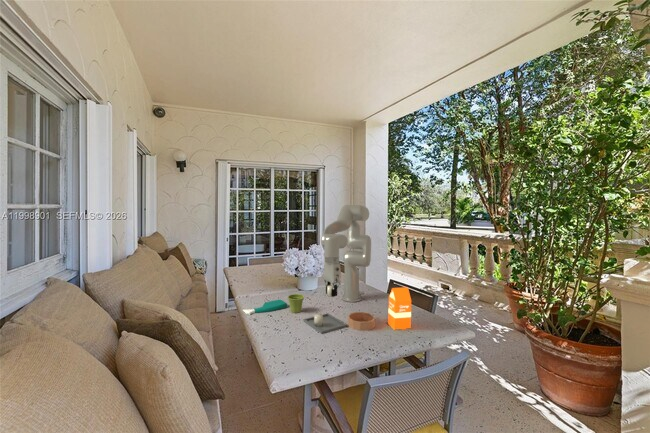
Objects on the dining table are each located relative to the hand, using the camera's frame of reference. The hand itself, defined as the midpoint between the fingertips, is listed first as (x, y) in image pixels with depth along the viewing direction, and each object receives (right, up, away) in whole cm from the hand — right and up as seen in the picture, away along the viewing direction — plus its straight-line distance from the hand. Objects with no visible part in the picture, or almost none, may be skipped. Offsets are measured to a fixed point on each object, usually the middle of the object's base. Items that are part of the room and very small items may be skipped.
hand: (331, 294), depth 151 cm
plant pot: (-20, -14, +16) cm, 30 cm away
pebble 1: (-7, -15, -4) cm, 16 cm away
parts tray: (-3, -15, -2) cm, 16 cm away
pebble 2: (0, -1, 0) cm, 1 cm away
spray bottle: (-38, -14, +19) cm, 45 cm away
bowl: (+15, -15, -2) cm, 22 cm away
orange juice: (+35, -16, -3) cm, 38 cm away
